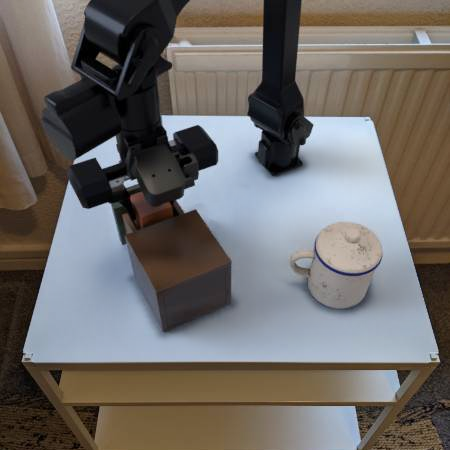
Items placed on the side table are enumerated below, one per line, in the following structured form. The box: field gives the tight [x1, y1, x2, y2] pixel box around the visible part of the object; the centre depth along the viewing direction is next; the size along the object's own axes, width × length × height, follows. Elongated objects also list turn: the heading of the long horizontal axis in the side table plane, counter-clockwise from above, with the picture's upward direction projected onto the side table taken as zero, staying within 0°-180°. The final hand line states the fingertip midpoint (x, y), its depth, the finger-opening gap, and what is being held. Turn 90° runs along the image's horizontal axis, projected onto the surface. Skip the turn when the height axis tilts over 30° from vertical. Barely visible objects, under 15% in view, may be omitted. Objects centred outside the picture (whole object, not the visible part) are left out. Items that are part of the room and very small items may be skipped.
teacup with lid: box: [289, 221, 384, 310], centre depth 70 cm, size 12×9×12 cm
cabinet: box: [125, 208, 233, 333], centre depth 70 cm, size 11×11×10 cm
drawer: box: [110, 183, 185, 246], centre depth 75 cm, size 14×9×8 cm, turn 28°
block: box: [130, 192, 173, 230], centre depth 71 cm, size 5×5×5 cm
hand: (151, 211), depth 71 cm, fingers open, 5 cm apart
